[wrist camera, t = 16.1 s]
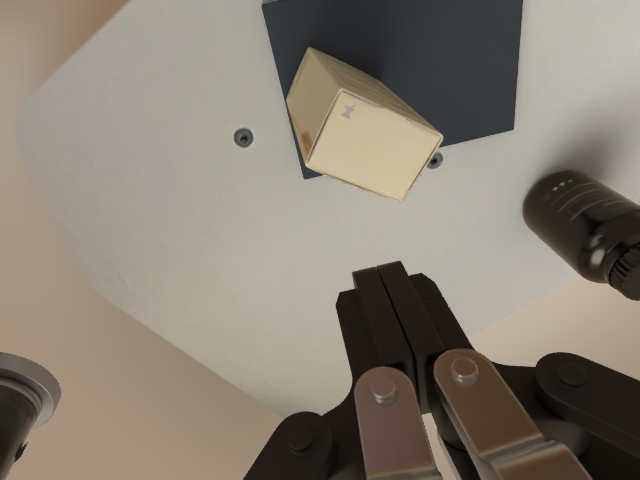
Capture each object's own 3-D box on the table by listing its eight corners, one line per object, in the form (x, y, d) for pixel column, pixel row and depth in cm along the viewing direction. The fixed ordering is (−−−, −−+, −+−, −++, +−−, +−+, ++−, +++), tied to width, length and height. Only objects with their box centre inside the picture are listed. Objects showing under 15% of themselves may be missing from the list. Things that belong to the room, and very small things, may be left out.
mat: (303, 177, 35) (304, 179, 34) (261, 4, 27) (261, 5, 27) (510, 127, 34) (513, 130, 34) (522, -59, 27) (527, -60, 27)
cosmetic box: (284, 101, 30) (296, 166, 20) (308, 43, 28) (334, 82, 18) (358, 134, 32) (403, 207, 22) (385, 82, 31) (447, 136, 20)
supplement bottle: (596, 207, 40) (706, 284, 30) (530, 241, 42) (615, 326, 32) (583, 153, 37) (703, 220, 27) (511, 192, 38) (601, 270, 28)
